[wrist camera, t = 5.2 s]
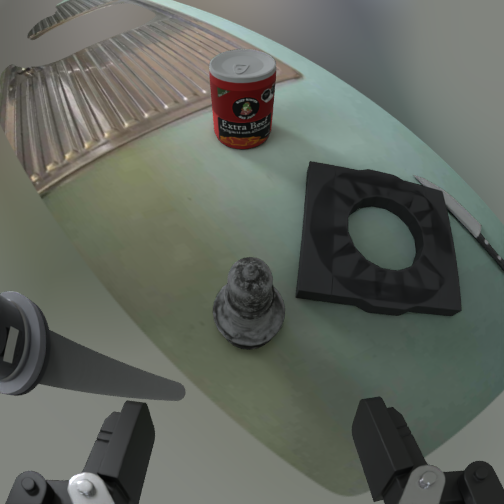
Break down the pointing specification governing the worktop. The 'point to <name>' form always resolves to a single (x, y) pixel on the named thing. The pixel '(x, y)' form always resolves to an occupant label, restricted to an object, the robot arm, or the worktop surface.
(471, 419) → the worktop surface
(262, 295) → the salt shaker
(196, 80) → the worktop surface
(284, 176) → the worktop surface
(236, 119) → the canned food
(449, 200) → the chef's knife
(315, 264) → the black pad
